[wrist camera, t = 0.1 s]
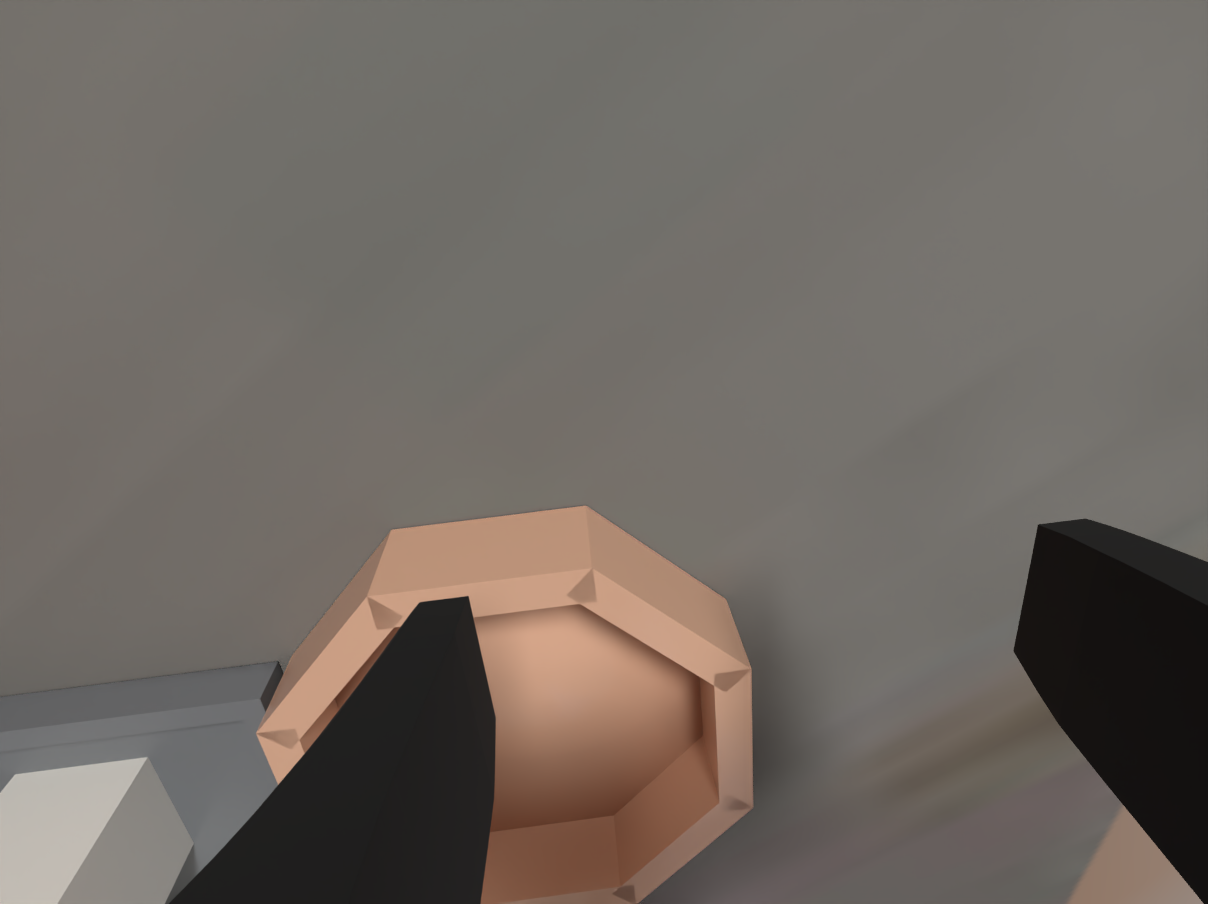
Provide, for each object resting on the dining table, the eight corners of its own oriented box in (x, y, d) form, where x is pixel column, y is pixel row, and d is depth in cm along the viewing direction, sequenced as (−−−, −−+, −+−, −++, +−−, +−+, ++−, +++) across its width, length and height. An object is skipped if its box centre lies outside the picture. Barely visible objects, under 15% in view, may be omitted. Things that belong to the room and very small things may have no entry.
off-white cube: (194, 843, 23) (120, 995, 19) (70, 859, 23) (-29, 1016, 19) (147, 757, 22) (56, 905, 18) (14, 774, 22) (-108, 927, 18)
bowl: (732, 806, 26) (754, 888, 23) (368, 855, 25) (347, 944, 23) (722, 488, 20) (750, 547, 17) (252, 546, 20) (205, 616, 17)
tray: (399, 971, 28) (391, 1014, 27) (67, 1017, 28) (43, 1063, 27) (278, 661, 21) (259, 698, 20) (-166, 717, 21) (-215, 759, 20)
